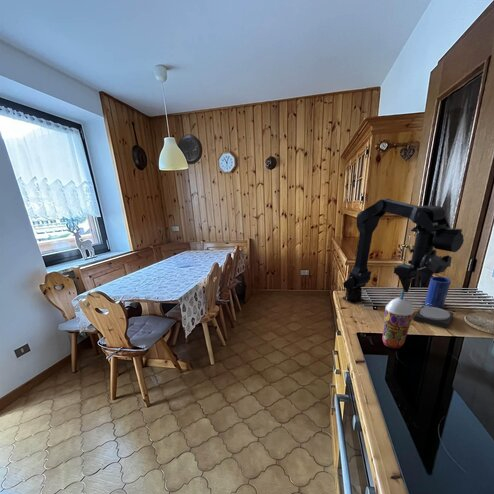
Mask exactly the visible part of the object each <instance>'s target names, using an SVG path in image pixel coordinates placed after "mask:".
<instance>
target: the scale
mask: <svg viewBox="0 0 494 494" xmlns="http://www.w3.org/2000/svg"><path fill="white" fill-rule="evenodd" d="M454 314H455V313H454V312H452V311H447V310H446V309H443V308H436V307H429V306H426V305H422V306H421V307H420V308H419V310H418V311H417V312H416V313H415V314H414V316H413V317H414V318H413V321H416V322H419V323H424V324H427V325H431V326H436V327H440V328H443V329H448V326H449V325H450V322H451V321H452V319H453V318H454Z"/></svg>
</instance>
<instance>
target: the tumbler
mask: <svg viewBox="0 0 494 494" xmlns="http://www.w3.org/2000/svg"><path fill="white" fill-rule="evenodd" d="M451 282H452V280H451V278H448V277H445V276H432V277H431V278H430V280H429V284H428V288H427V292H426V295H425V300H424V305H425V306H426V307H436V308H440V309H443V308H444V307H445V304H446V300H447V297H448V293H449V290H450V285H451ZM427 303H429V304H427ZM430 304H432V305H430Z"/></svg>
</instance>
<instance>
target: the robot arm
mask: <svg viewBox="0 0 494 494" xmlns="http://www.w3.org/2000/svg"><path fill="white" fill-rule="evenodd" d="M445 213H446V212H445V209H444V207H443V206H440V205H415V204H411V203H407V202H402V201H397V200H393V199H391V198H381V199H379V200H377V201H376V202H375V203H374V204H372V205H370V206H369V207H367V208H364V210H361V211H359V213H357V215H356V229H357V231H358V240H357V248H356V255H355V262H354V266H353V268H352V269H351V270H350V272H349V275H348V278H347V279H346V280H345V281H344V282H342V285H343V288H344V289H345V296H343V297H342V299H343V300H345V301H346V302H349V303H351V304H354V303H358V302H362V301H363V300H364V299H363V298H362V296H363V292H362V289H363V288H365V287H366V286H367V284H368V283H369V281H370V280H371V275H372V270H369V268H368V262H369V256H370V251H371V250H370V249H371V244H372V237H373V233H374V231H375V230H376V229H377V227H378V225H379V223H380V219H381V218H382V217H384V216H385V215H386V214H392V215H395V216H399V217H404V218H407V219H409V220H410V221H411V222H412V223H413V224H416V225H415V226H414V227H413V228H411V229H410V232H413V233H416V234H415V235H416V236H415V241H414V247H413V248H410V253H412V254H411V255H412V256H411V259H408V261H407V263H401V264H397V265H395V266H394V268H393V274H395V276H397V277H398V280H400V283H401V287H402V289H403V290H404V291H405V292H404V293H406V294H407V293H409V291H410V287H411V284H412V281H413V279H415V278H416V277H417V274H418V271H419V270H420V284H421V287H422V288H425V287H426V286H427V284H428V283H429V282H430V280H431V278H432V277H433V276H434V274H437V275H438V274H441V273H444V272H445V271H446V270H447V268H450V267H451V266H452V265H451V264H452V256H451V255H450V254H446V255H444V256H442V255H440V256H439V255H437V250H440V251H446V252H450V253H457V252H459V250H460V249H461V247H462V246H463V244H464V241H465V239H464V235H463V233H462V232H463V228H451V225H450V223H449V221H448V219H447V217H446V215H445Z"/></svg>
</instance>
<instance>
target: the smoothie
mask: <svg viewBox="0 0 494 494" xmlns="http://www.w3.org/2000/svg"><path fill="white" fill-rule="evenodd" d="M405 293H406V292H405V291H404V290H401V296H400V297H395V298H392V300H390V301H388V303H387V304H386V305H385V309H384V310H385V311H384V320H383V328H382V338H381V339H382V342H383V345H384V346H385V347H388V348H390V349H400V348H402V347H403V345H404V344H405V343H406V339H407V336H408V333H409V329H410V326H411V323H412V319H413V317H414V315H415V308H414V306H413V303H412V302H411V301H410V300H409V299H407V298H405Z"/></svg>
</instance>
